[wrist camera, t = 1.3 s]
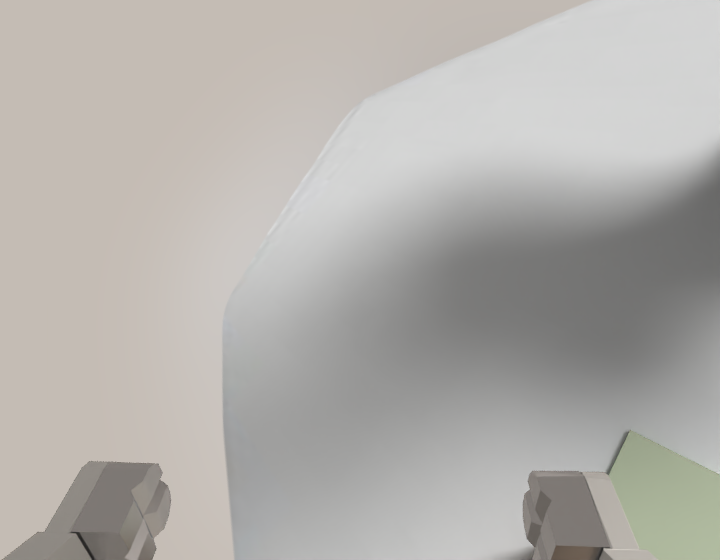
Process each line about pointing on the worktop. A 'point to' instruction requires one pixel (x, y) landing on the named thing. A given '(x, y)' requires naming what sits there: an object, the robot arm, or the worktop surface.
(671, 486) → the mat
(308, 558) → the worktop surface
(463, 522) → the worktop surface
